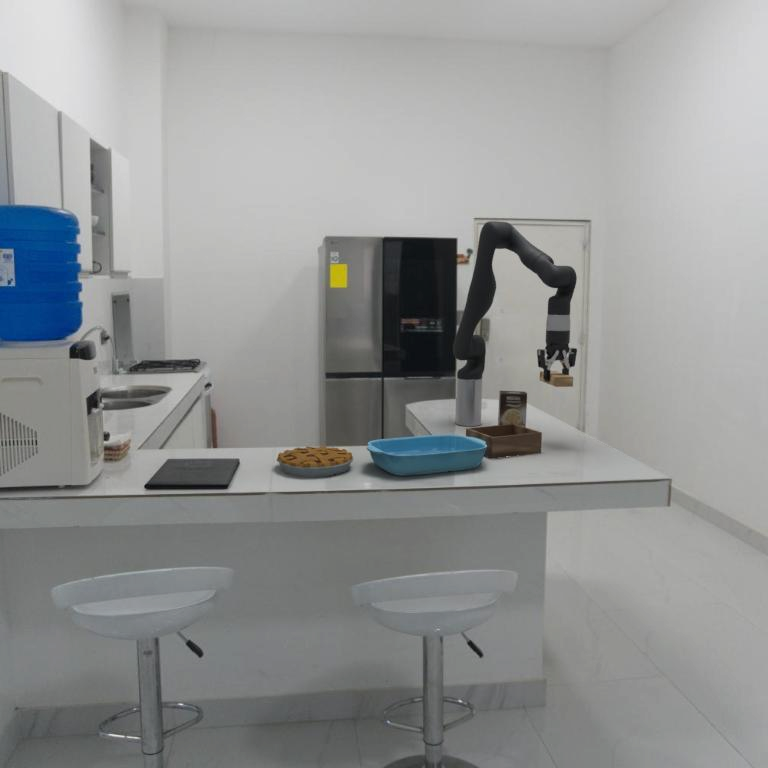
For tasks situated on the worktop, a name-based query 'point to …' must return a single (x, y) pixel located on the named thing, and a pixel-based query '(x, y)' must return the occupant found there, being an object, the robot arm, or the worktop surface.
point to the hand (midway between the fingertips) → (555, 380)
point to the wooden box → (507, 440)
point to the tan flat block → (558, 379)
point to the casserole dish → (427, 454)
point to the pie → (315, 461)
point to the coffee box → (512, 408)
